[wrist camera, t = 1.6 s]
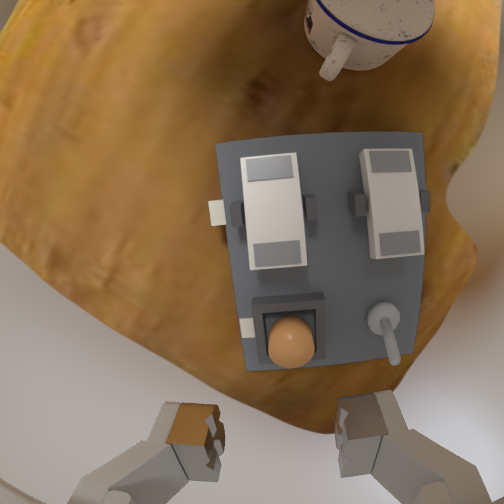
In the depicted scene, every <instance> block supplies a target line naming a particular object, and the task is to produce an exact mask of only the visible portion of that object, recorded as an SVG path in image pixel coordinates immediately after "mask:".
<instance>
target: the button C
mask: <svg viewBox="0 0 504 504" xmlns="http://www.w3.org/2000/svg"><path fill="white" fill-rule="evenodd" d="M314 350H315V348H314V341H313V336H312V330H311V327H310V325H309V323H308V322H307V321H306V320H305V319H303V318H301V317H298V316H293V315H289V316H284V317H281V318H279V319H278V320H276V321H275V322H274V323H273V324H272V326H271V328H270V331H269V348H268V352H269V356H270V358H271V360H272V361H273V362H274V363H275V364H277V365H279V366H281V367H284V368H297V367H300V366H303V365H304V364H306V363H307V362H309V361H310V359H311V358H312V356H313V354H314Z"/></svg>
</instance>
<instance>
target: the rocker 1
mask: <svg viewBox="0 0 504 504" xmlns="http://www.w3.org/2000/svg"><path fill="white" fill-rule="evenodd" d="M240 161H241V173H242V184H243V196H244V208H245V219H246V231H247V243H248V254H249V265H250V270H259V269H271V268H283V267H295V266H307V254H306V242H305V231H304V220H303V209H302V200H301V190H300V181H299V172H298V163H297V155H296V153H284V154H273V155H263V156H253V157H244V158H240Z"/></svg>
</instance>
